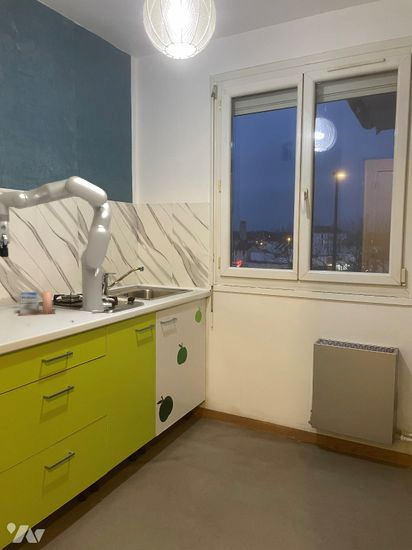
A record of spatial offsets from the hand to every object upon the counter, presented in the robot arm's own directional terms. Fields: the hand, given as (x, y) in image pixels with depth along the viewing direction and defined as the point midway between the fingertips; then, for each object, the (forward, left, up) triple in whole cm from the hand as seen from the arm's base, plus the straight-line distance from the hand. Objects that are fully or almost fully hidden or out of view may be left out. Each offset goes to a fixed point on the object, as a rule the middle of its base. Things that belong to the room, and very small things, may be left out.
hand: (1, 256), depth 188 cm
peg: (-19, +5, -27) cm, 33 cm away
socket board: (-14, +1, -28) cm, 31 cm away
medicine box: (-10, -17, -28) cm, 34 cm away
